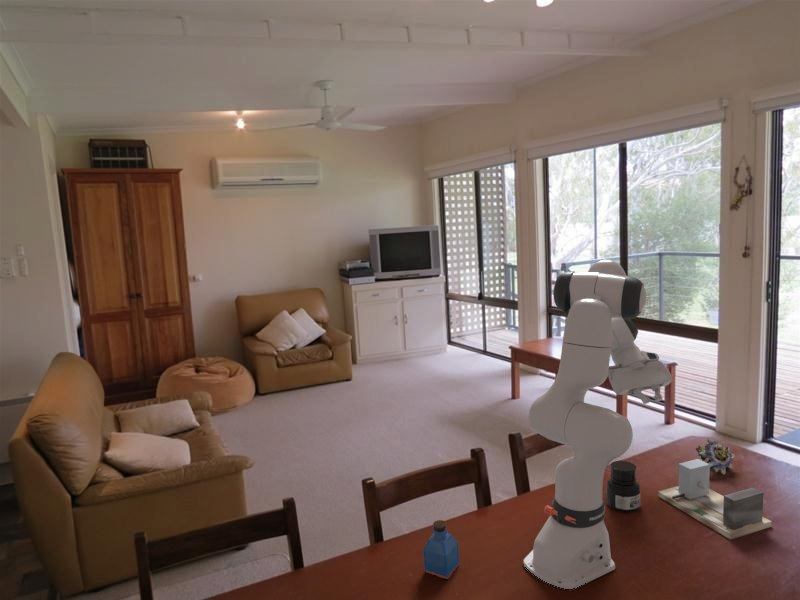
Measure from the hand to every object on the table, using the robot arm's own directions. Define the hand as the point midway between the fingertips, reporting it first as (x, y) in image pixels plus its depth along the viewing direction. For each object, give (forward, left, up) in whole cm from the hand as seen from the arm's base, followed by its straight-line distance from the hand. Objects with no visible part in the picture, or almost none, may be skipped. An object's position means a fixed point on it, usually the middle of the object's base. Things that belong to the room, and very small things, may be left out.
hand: (653, 401), depth 168 cm
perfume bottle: (-77, +14, -26) cm, 82 cm away
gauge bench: (-6, -19, -25) cm, 32 cm away
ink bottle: (-20, -1, -26) cm, 32 cm away
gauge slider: (-6, -14, -23) cm, 28 cm away
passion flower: (+20, -9, -26) cm, 34 cm away
